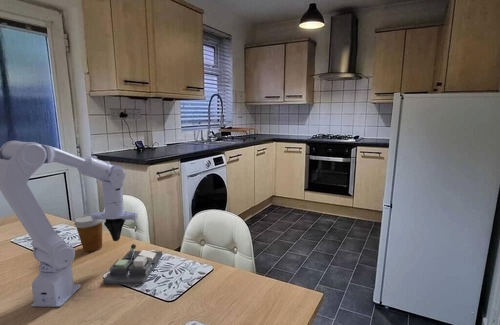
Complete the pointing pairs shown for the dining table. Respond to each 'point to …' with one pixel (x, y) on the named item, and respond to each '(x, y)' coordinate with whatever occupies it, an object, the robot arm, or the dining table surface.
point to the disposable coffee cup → (89, 232)
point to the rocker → (147, 254)
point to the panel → (131, 270)
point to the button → (121, 263)
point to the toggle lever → (132, 250)
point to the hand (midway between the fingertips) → (116, 239)
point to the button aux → (140, 261)
